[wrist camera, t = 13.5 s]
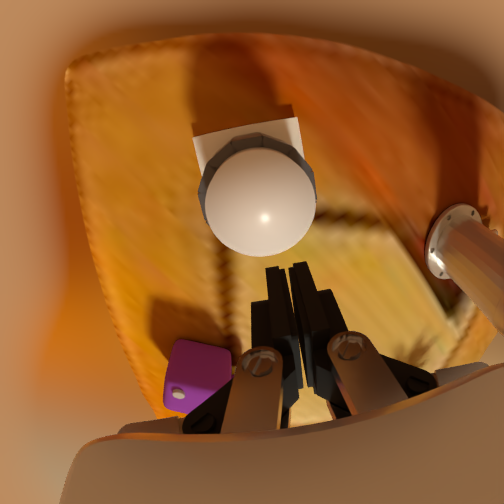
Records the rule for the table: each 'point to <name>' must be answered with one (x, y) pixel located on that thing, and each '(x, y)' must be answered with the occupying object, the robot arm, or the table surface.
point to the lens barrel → (249, 136)
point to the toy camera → (194, 374)
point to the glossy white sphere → (260, 202)
